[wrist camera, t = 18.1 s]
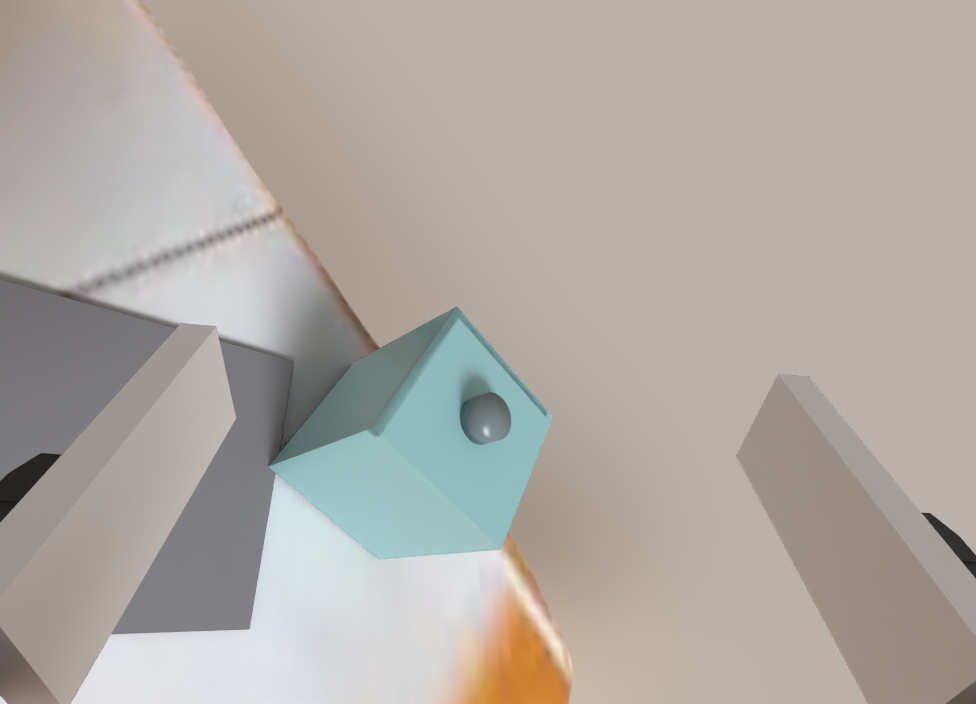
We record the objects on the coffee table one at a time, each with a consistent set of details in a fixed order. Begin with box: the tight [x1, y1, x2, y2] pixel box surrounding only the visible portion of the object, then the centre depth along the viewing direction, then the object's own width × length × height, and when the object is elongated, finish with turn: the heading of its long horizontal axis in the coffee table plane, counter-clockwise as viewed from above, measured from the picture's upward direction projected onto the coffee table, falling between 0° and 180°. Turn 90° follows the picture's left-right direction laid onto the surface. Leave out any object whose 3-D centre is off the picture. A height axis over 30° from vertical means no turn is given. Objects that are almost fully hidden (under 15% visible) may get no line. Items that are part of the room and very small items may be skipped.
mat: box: [0, 279, 294, 634], centre depth 31 cm, size 18×18×1 cm
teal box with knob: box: [268, 307, 552, 559], centre depth 37 cm, size 11×11×14 cm
